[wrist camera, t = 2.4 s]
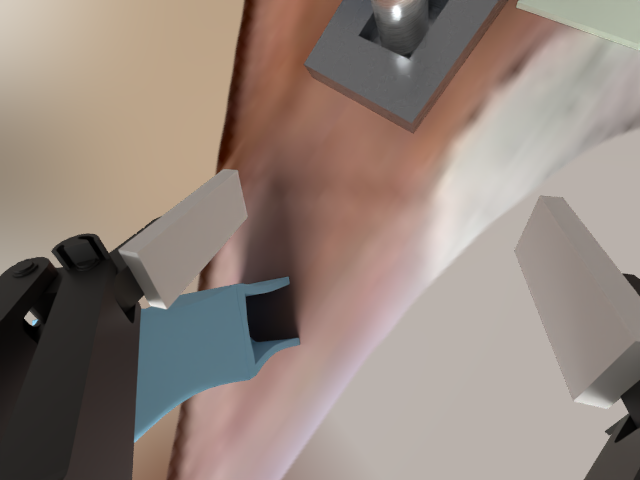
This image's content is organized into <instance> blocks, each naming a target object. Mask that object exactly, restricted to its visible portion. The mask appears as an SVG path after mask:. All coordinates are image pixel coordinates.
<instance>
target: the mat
mask: <svg viewBox="0 0 640 480" xmlns="http://www.w3.org/2000/svg"><path fill="white" fill-rule="evenodd" d="M516 8H519V9H522V10H525V11H528V12H531V13H533V14H536V15H539V16H542V17H545V18H548V19H551V20H553V21H556V22H559V23H562V24H565V25H568V26H571V27H573V28H576V29H579V30H582V31H585V32H588V33H590V34H593V35H596V36H599V37H602V38H605V39H608V40H610V41H613V42H616V43H619V44H622V45H625V46H628V47H630V48H633V49H636V50H639V51H640V0H519V1H518V3H517V5H516Z"/></svg>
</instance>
